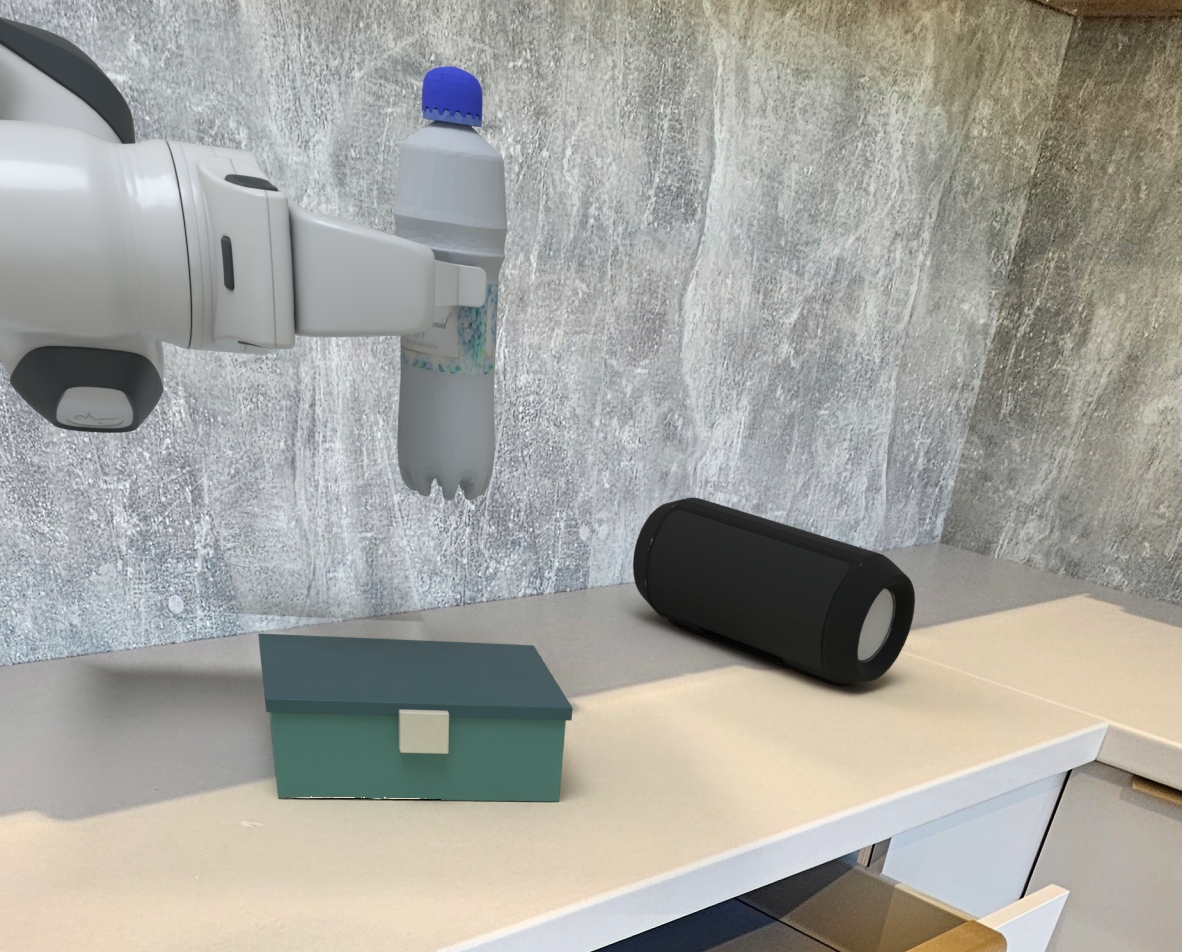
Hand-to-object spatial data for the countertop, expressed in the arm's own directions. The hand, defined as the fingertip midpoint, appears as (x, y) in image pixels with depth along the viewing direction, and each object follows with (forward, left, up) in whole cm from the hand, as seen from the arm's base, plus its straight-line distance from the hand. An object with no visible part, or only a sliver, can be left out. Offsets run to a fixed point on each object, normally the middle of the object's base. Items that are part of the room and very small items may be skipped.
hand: (463, 279), depth 72 cm
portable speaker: (+31, +18, -25) cm, 43 cm away
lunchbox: (-4, -11, -25) cm, 27 cm away
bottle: (-1, 0, -11) cm, 11 cm away
